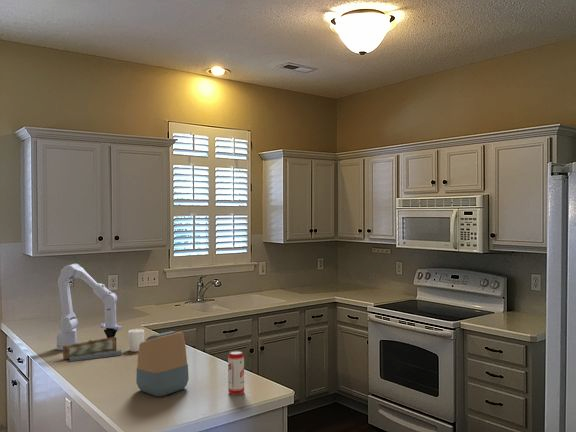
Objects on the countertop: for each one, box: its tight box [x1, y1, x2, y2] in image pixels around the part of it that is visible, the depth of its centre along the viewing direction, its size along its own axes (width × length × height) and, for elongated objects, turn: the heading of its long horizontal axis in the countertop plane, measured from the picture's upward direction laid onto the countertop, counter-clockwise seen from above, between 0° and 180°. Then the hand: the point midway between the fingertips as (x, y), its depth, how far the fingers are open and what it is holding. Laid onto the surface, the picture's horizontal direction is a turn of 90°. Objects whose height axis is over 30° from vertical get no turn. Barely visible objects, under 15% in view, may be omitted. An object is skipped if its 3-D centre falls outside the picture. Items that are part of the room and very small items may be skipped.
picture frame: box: [62, 336, 118, 360], centre depth 263 cm, size 26×3×6 cm, turn 132°
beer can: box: [227, 350, 245, 396], centre depth 206 cm, size 6×6×16 cm
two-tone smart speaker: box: [135, 330, 189, 398], centre depth 210 cm, size 17×17×23 cm
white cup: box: [127, 328, 145, 352], centre depth 270 cm, size 8×8×10 cm
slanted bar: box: [68, 349, 123, 362], centre depth 257 cm, size 24×3×2 cm, turn 114°
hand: (110, 342), depth 274 cm, fingers closed
